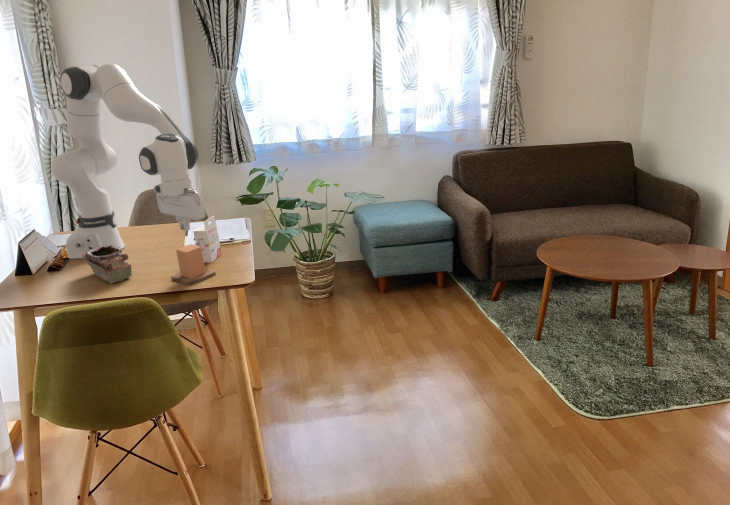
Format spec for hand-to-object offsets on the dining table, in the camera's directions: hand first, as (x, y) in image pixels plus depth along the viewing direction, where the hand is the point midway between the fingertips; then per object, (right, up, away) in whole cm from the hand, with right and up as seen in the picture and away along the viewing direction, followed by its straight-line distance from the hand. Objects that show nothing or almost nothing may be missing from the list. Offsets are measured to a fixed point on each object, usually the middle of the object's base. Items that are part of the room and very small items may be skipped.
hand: (185, 229), depth 198 cm
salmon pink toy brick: (+1, -14, +5) cm, 15 cm away
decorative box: (-30, -16, +12) cm, 36 cm away
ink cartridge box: (+3, -10, +22) cm, 24 cm away
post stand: (+1, -15, +5) cm, 16 cm away
